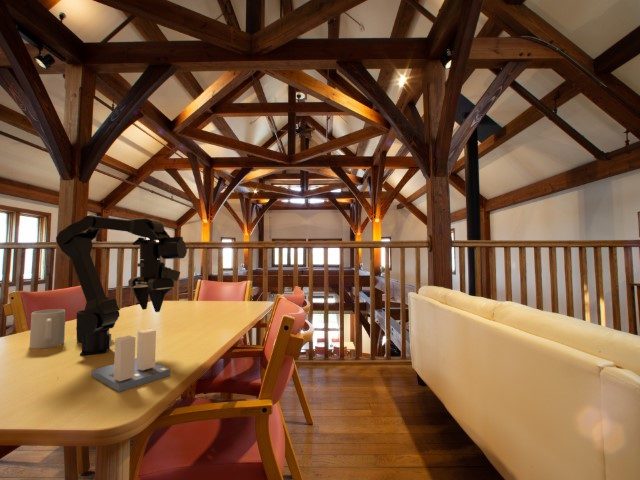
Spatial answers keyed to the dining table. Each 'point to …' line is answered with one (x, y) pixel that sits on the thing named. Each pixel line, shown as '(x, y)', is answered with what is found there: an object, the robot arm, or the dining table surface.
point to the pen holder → (79, 319)
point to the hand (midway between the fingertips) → (150, 310)
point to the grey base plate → (139, 378)
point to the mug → (47, 328)
